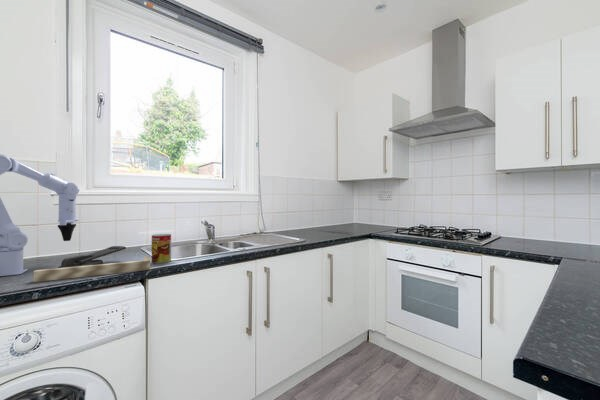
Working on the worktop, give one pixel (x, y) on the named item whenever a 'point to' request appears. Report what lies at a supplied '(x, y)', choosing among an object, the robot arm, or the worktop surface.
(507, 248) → the worktop surface
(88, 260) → the dark grey elongated piece
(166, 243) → the canned food
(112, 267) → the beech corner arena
